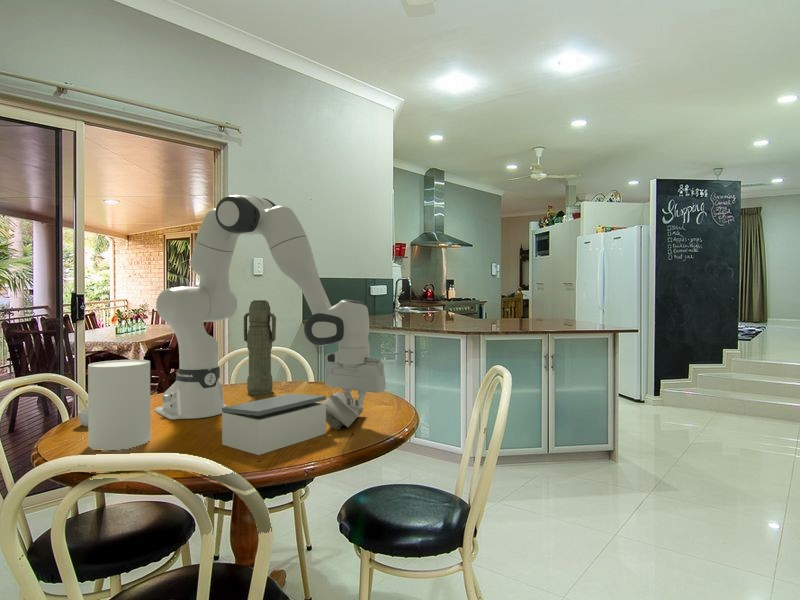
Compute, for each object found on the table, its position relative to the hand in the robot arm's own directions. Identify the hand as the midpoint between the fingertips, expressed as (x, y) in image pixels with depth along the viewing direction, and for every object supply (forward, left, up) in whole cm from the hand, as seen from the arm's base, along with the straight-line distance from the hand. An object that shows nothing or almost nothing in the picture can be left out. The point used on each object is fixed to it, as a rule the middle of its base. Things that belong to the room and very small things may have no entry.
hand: (354, 405), depth 142 cm
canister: (-36, -47, -6) cm, 60 cm away
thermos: (-55, +11, -6) cm, 56 cm away
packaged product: (0, 0, -5) cm, 5 cm away
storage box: (-7, -22, -6) cm, 24 cm away
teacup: (-59, -44, -6) cm, 74 cm away
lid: (-14, -22, +2) cm, 27 cm away
